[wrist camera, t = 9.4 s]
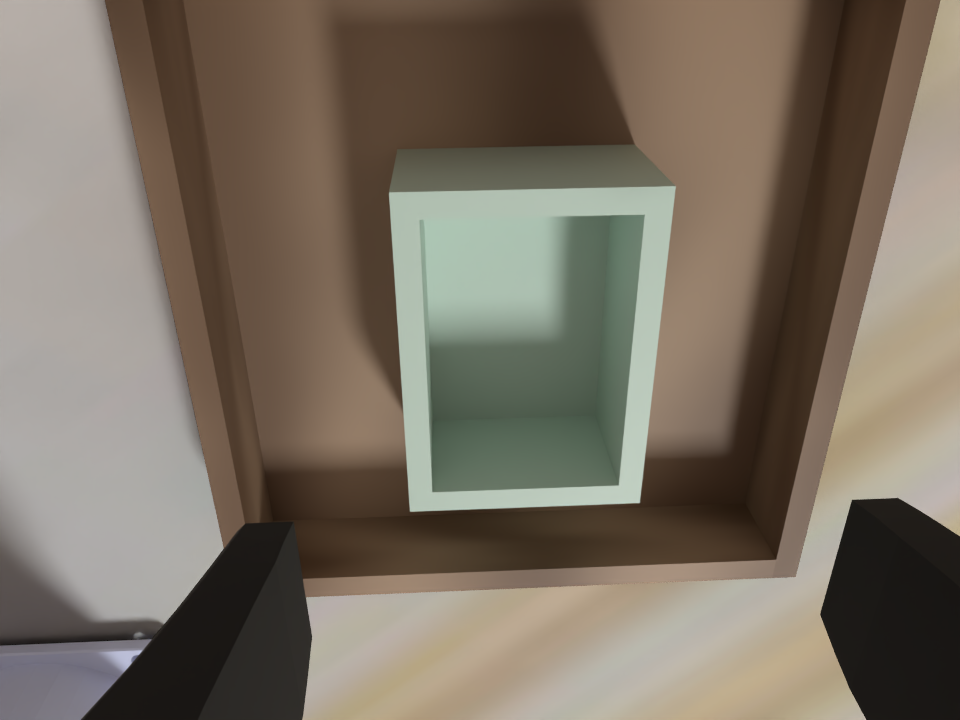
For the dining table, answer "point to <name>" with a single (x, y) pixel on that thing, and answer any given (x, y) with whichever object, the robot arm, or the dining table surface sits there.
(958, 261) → the dining table surface
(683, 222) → the walnut crate
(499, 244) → the box
